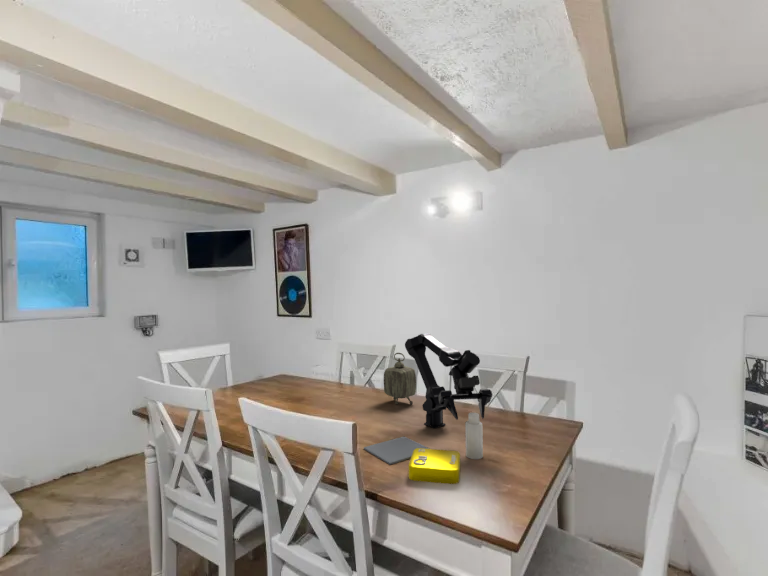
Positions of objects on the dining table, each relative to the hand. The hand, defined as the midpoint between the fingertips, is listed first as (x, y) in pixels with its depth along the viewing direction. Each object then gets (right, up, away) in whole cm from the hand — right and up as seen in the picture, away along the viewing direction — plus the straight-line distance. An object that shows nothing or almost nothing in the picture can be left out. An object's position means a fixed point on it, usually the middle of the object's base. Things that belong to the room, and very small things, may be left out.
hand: (470, 418), depth 141 cm
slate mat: (-25, -11, +1) cm, 28 cm away
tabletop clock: (-22, -12, +59) cm, 64 cm away
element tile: (-14, -12, -15) cm, 24 cm away
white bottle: (0, -11, -4) cm, 12 cm away
